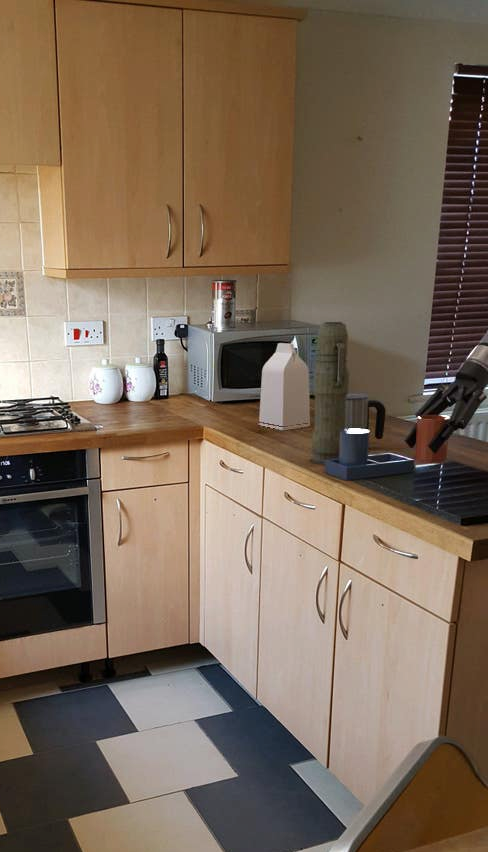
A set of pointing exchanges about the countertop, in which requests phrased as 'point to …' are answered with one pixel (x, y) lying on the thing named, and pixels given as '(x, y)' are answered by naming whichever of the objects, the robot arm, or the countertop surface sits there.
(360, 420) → the milk frother
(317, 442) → the thermos
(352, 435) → the slate blue mug
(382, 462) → the sorter
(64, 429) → the countertop surface
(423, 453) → the terracotta cup
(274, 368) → the milk
